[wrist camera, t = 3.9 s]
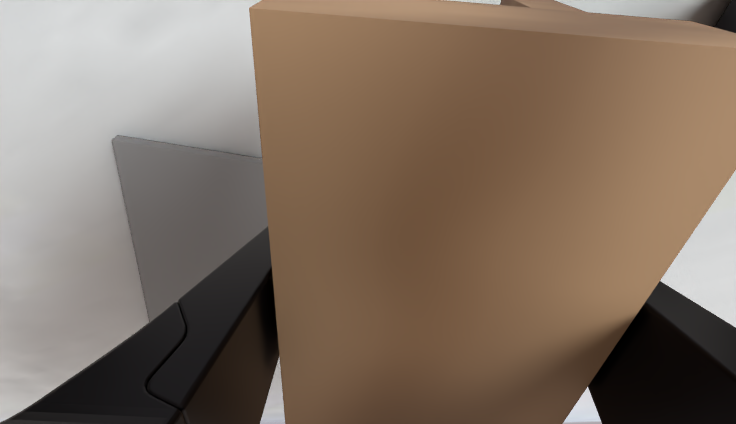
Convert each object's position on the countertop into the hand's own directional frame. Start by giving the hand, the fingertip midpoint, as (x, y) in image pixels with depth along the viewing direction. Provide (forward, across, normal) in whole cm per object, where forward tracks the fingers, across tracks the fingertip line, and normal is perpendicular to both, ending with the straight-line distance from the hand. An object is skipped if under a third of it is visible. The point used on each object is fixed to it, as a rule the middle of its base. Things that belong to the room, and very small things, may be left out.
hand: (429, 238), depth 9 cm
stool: (+4, 0, 0) cm, 4 cm away
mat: (+13, +7, +13) cm, 19 cm away
